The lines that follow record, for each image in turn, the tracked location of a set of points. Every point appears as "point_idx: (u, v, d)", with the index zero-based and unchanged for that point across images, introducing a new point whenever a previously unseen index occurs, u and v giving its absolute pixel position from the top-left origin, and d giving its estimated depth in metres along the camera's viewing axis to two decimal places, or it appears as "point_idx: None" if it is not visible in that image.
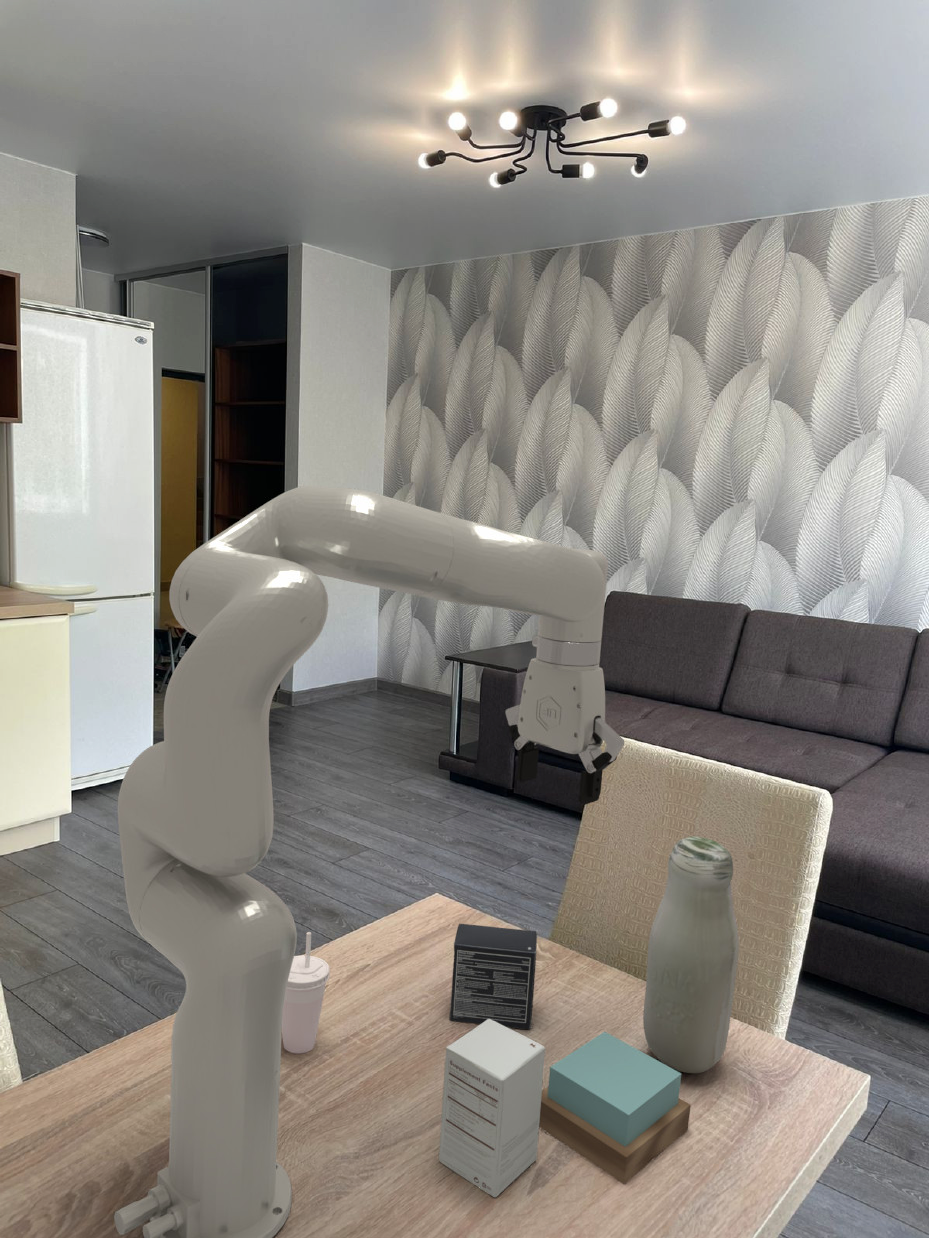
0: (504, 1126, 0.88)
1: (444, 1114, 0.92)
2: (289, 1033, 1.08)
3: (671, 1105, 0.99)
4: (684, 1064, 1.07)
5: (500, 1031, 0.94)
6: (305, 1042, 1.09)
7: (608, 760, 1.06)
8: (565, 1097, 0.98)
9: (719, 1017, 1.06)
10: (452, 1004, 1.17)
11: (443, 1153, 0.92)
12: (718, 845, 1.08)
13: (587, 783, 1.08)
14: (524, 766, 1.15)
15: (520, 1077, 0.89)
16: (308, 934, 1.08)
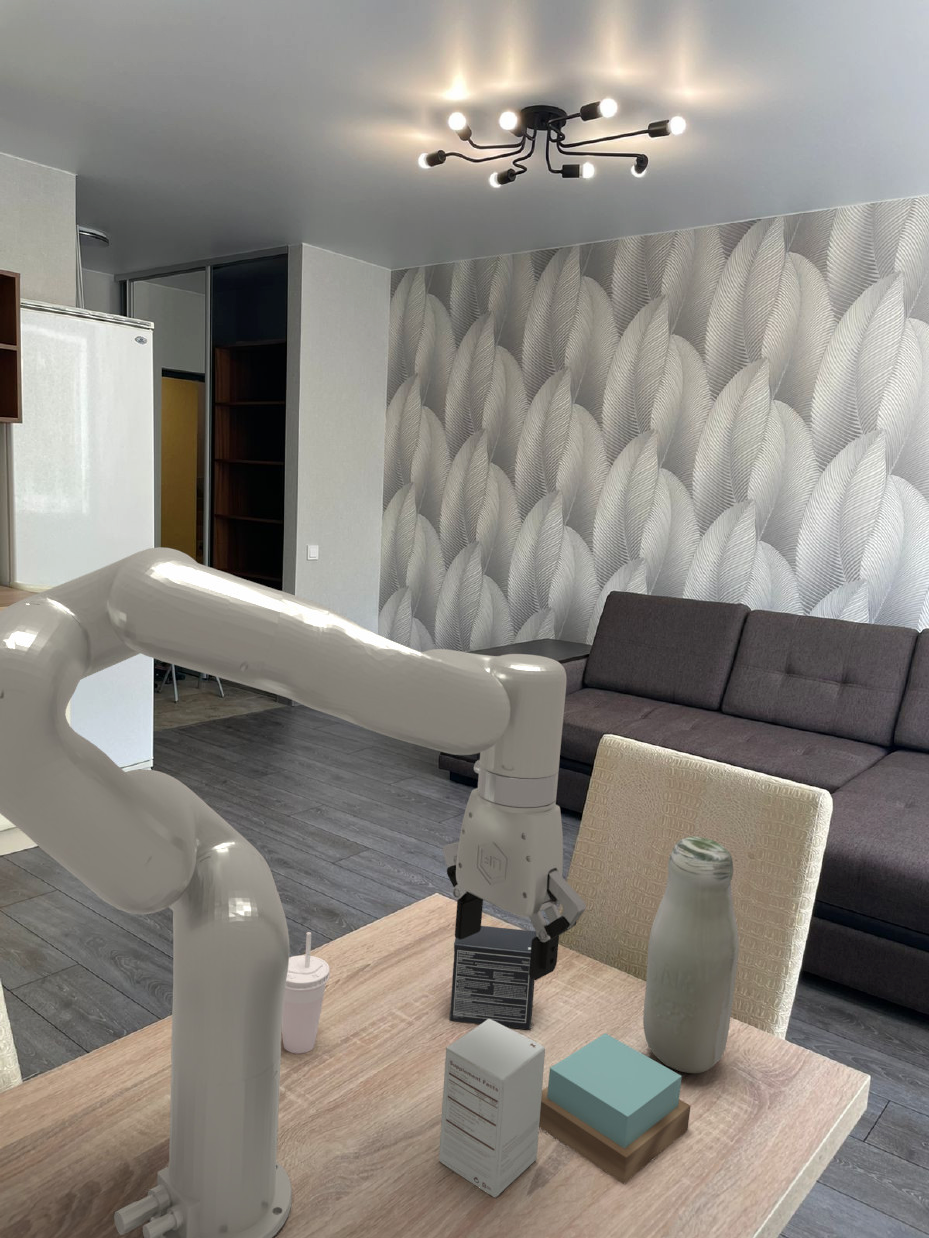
0: (505, 1126, 0.88)
1: (444, 1114, 0.92)
2: (289, 1033, 1.08)
3: (671, 1107, 0.98)
4: (684, 1064, 1.07)
5: (500, 1031, 0.94)
6: (305, 1042, 1.09)
7: (565, 928, 0.84)
8: (565, 1099, 0.97)
9: (719, 1017, 1.06)
10: (452, 1004, 1.17)
11: (443, 1153, 0.92)
12: (718, 845, 1.08)
13: (539, 953, 0.86)
14: (464, 920, 0.92)
15: (520, 1077, 0.89)
16: (308, 934, 1.08)
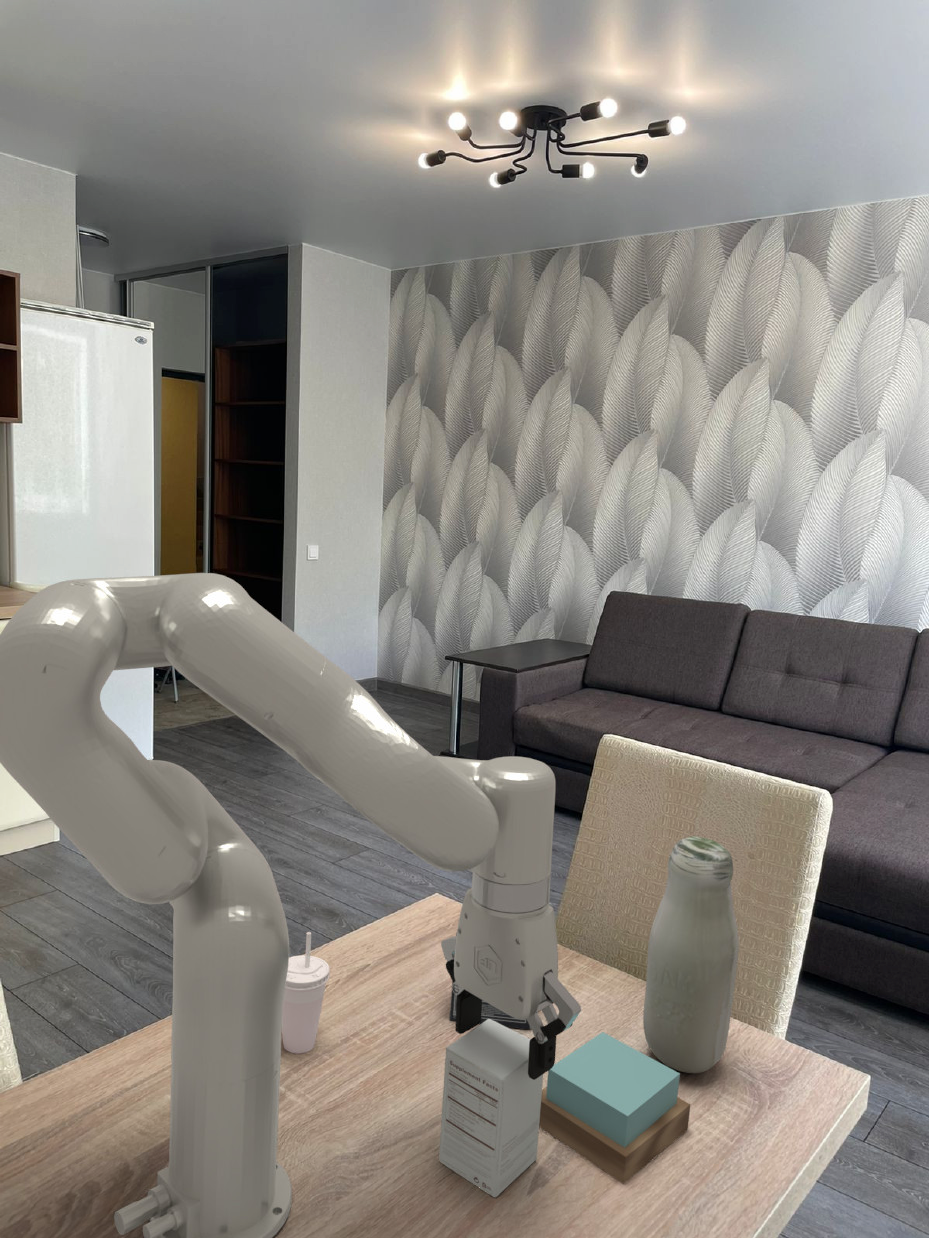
0: (504, 1126, 0.88)
1: (444, 1114, 0.92)
2: (289, 1033, 1.08)
3: (670, 1105, 0.98)
4: (684, 1064, 1.07)
5: (500, 1031, 0.94)
6: (305, 1042, 1.09)
7: (561, 1030, 0.85)
8: (564, 1099, 0.97)
9: (719, 1017, 1.06)
10: (452, 1004, 1.17)
11: (443, 1153, 0.92)
12: (718, 845, 1.08)
13: (537, 1053, 0.87)
14: (464, 1015, 0.94)
15: (520, 1077, 0.89)
16: (308, 934, 1.08)
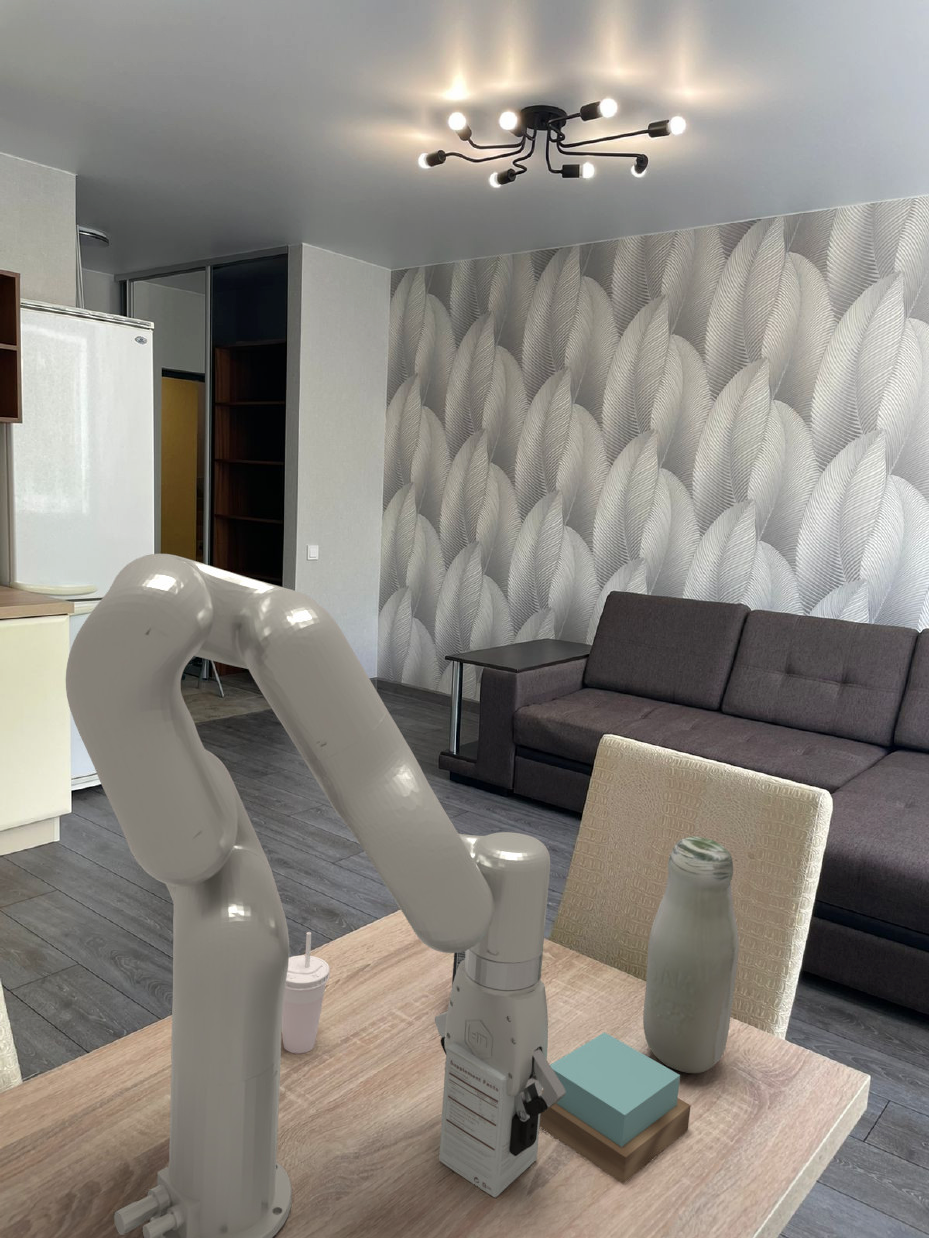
0: (505, 1126, 0.88)
1: (444, 1114, 0.92)
2: (289, 1033, 1.08)
3: (669, 1107, 0.98)
4: (684, 1064, 1.07)
5: None
6: (305, 1042, 1.09)
7: (543, 1110, 0.87)
8: (563, 1097, 0.98)
9: (719, 1017, 1.06)
10: None
11: (443, 1153, 0.92)
12: (718, 845, 1.08)
13: (519, 1130, 0.89)
14: None
15: None
16: (308, 934, 1.08)
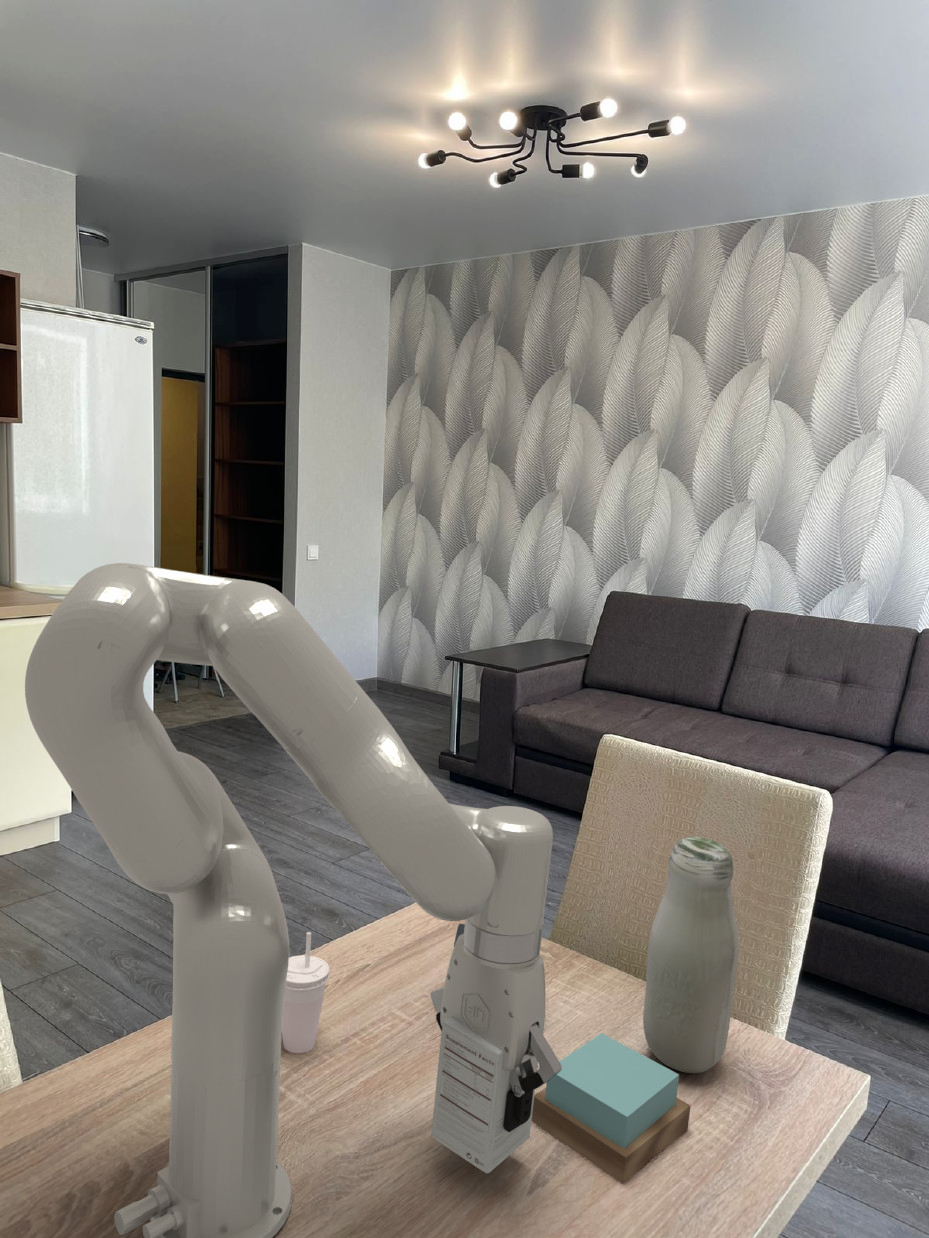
0: (499, 1101, 0.87)
1: (438, 1089, 0.91)
2: (289, 1033, 1.08)
3: (669, 1106, 0.98)
4: (684, 1064, 1.07)
5: None
6: (305, 1042, 1.09)
7: (539, 1086, 0.86)
8: (563, 1100, 0.97)
9: (719, 1017, 1.06)
10: None
11: (435, 1129, 0.92)
12: (718, 845, 1.08)
13: (514, 1106, 0.88)
14: None
15: None
16: (308, 934, 1.08)
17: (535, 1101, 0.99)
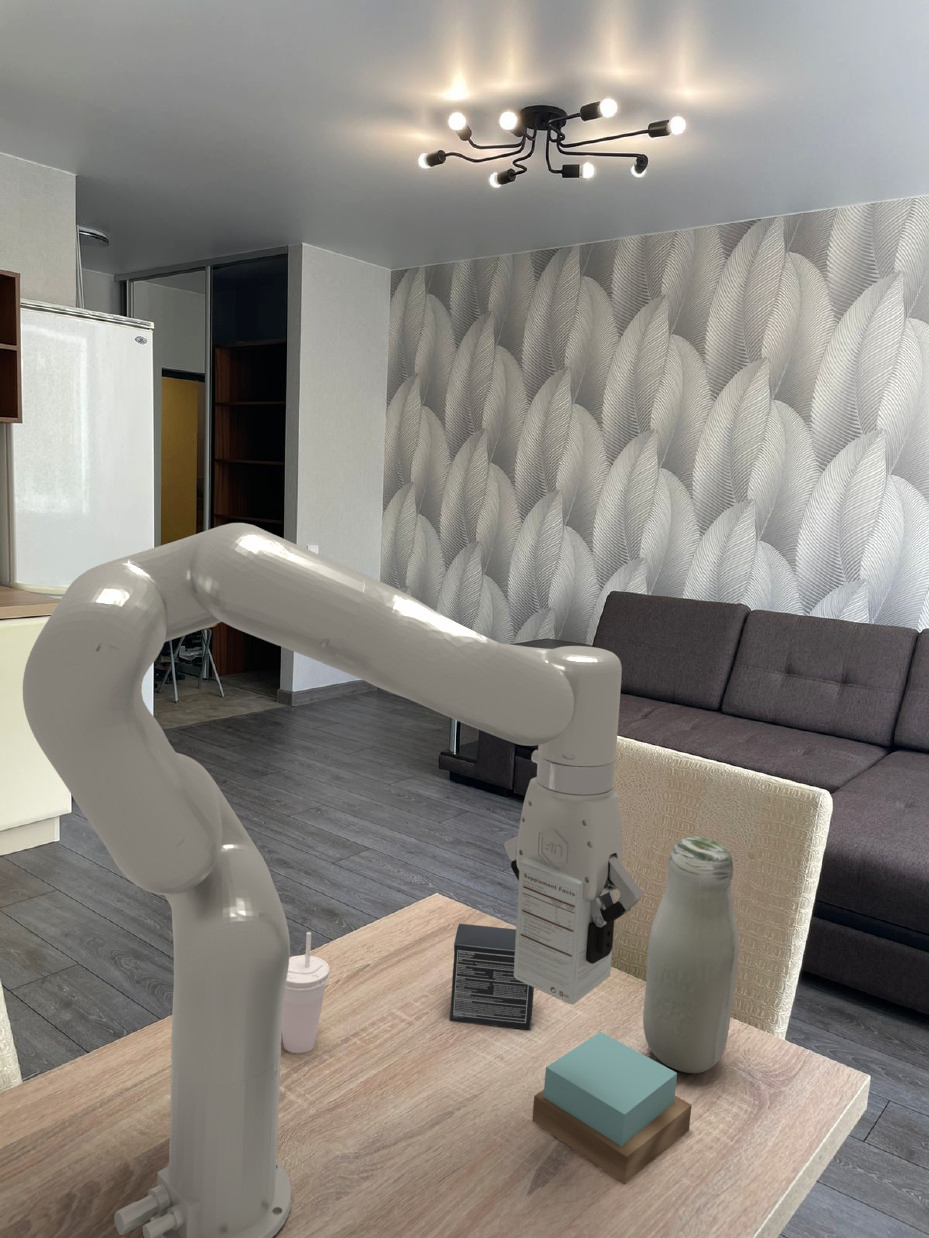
0: (582, 932, 0.88)
1: (518, 929, 0.92)
2: (289, 1033, 1.08)
3: (667, 1104, 0.99)
4: (684, 1064, 1.07)
5: None
6: (305, 1042, 1.09)
7: (620, 913, 0.87)
8: (561, 1097, 0.97)
9: (719, 1017, 1.06)
10: (452, 1004, 1.17)
11: (517, 969, 0.93)
12: (718, 845, 1.08)
13: (596, 938, 0.89)
14: None
15: None
16: (308, 935, 1.08)
17: (536, 1101, 0.99)
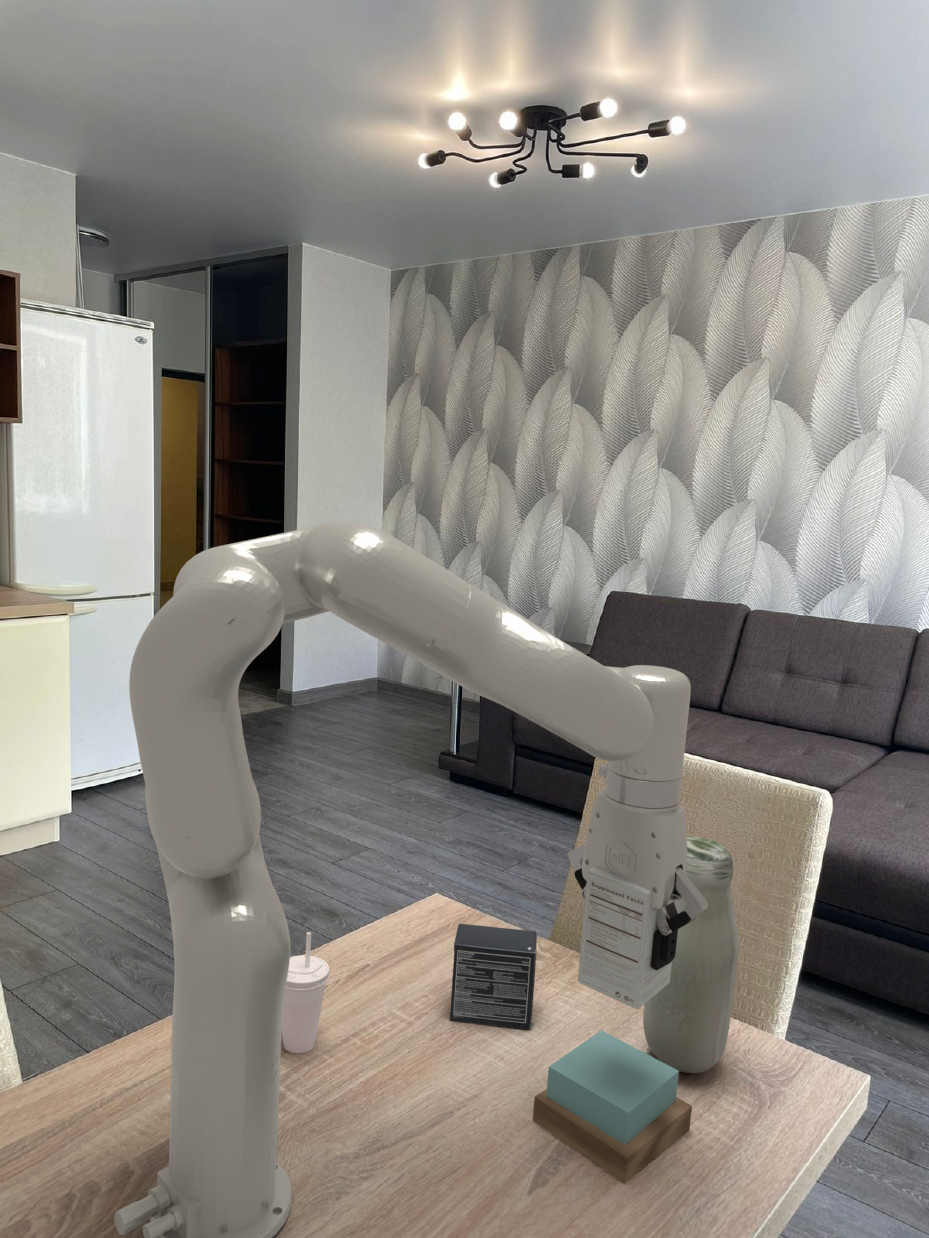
0: (648, 940, 0.92)
1: (584, 935, 0.96)
2: (289, 1033, 1.08)
3: (669, 1102, 0.99)
4: (684, 1064, 1.07)
5: None
6: (305, 1042, 1.09)
7: (686, 923, 0.91)
8: (564, 1097, 0.98)
9: (719, 1017, 1.06)
10: (452, 1004, 1.17)
11: (582, 974, 0.96)
12: (718, 845, 1.08)
13: (660, 945, 0.93)
14: None
15: None
16: (308, 934, 1.08)
17: (536, 1101, 0.99)
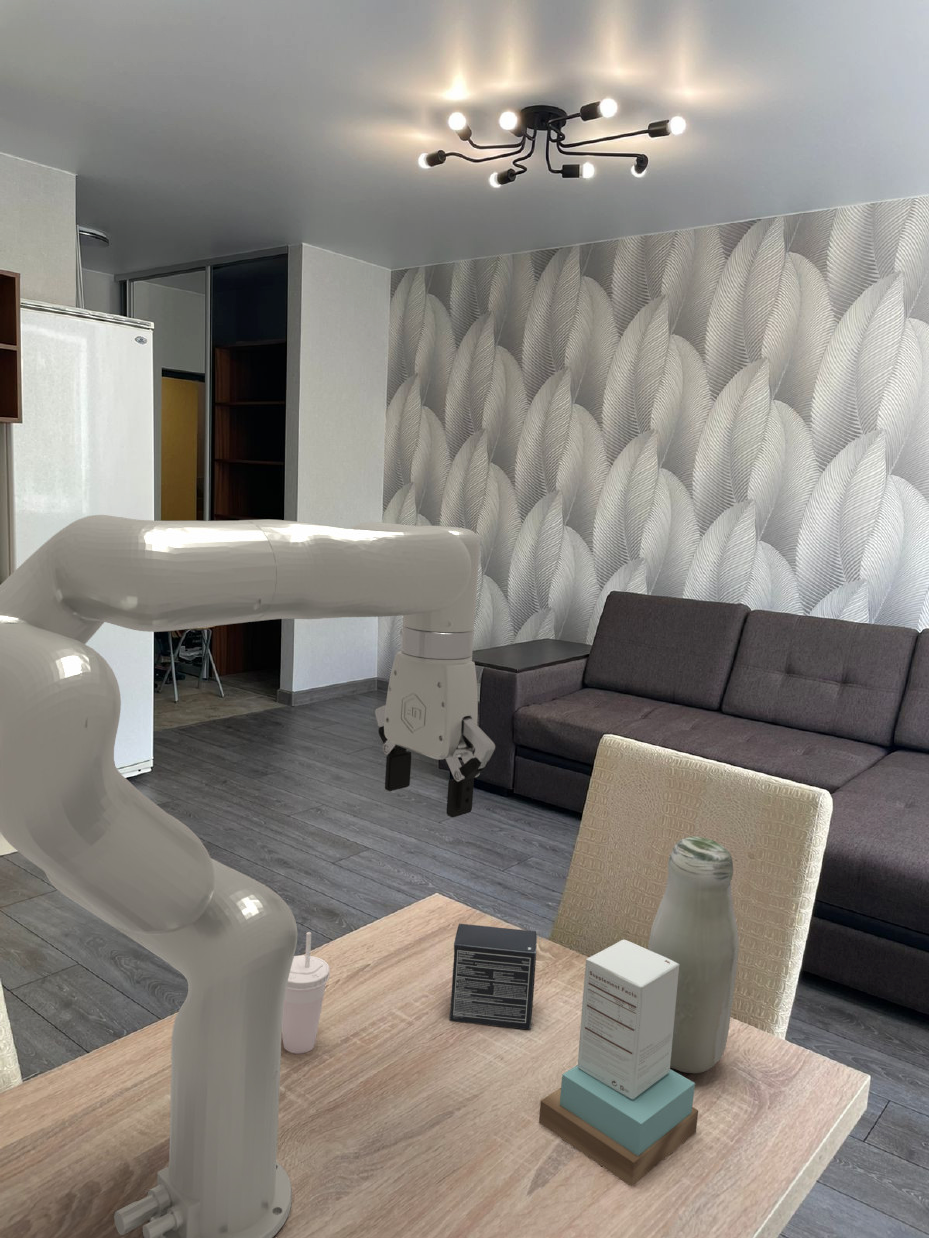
0: (642, 1032, 0.94)
1: (583, 1022, 0.98)
2: (289, 1033, 1.08)
3: (684, 1115, 0.98)
4: (684, 1064, 1.07)
5: (635, 949, 1.00)
6: (305, 1042, 1.09)
7: (477, 767, 0.93)
8: (577, 1105, 0.97)
9: (719, 1017, 1.06)
10: (452, 1004, 1.17)
11: (581, 1060, 0.99)
12: (718, 845, 1.08)
13: (455, 793, 0.95)
14: (393, 773, 1.02)
15: (657, 987, 0.95)
16: (308, 935, 1.08)
17: (542, 1106, 0.99)
